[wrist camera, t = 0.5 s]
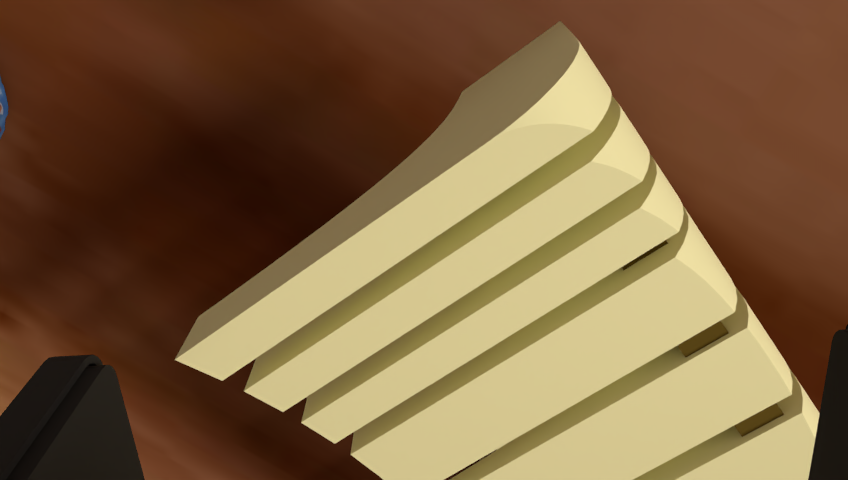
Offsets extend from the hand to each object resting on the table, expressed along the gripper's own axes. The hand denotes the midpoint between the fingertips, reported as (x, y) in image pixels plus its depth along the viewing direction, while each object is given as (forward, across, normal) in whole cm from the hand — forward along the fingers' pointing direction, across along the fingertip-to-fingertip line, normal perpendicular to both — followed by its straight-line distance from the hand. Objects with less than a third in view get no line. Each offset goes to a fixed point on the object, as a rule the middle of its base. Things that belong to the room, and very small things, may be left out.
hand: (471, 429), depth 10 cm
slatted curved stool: (+31, -6, +15) cm, 35 cm away
